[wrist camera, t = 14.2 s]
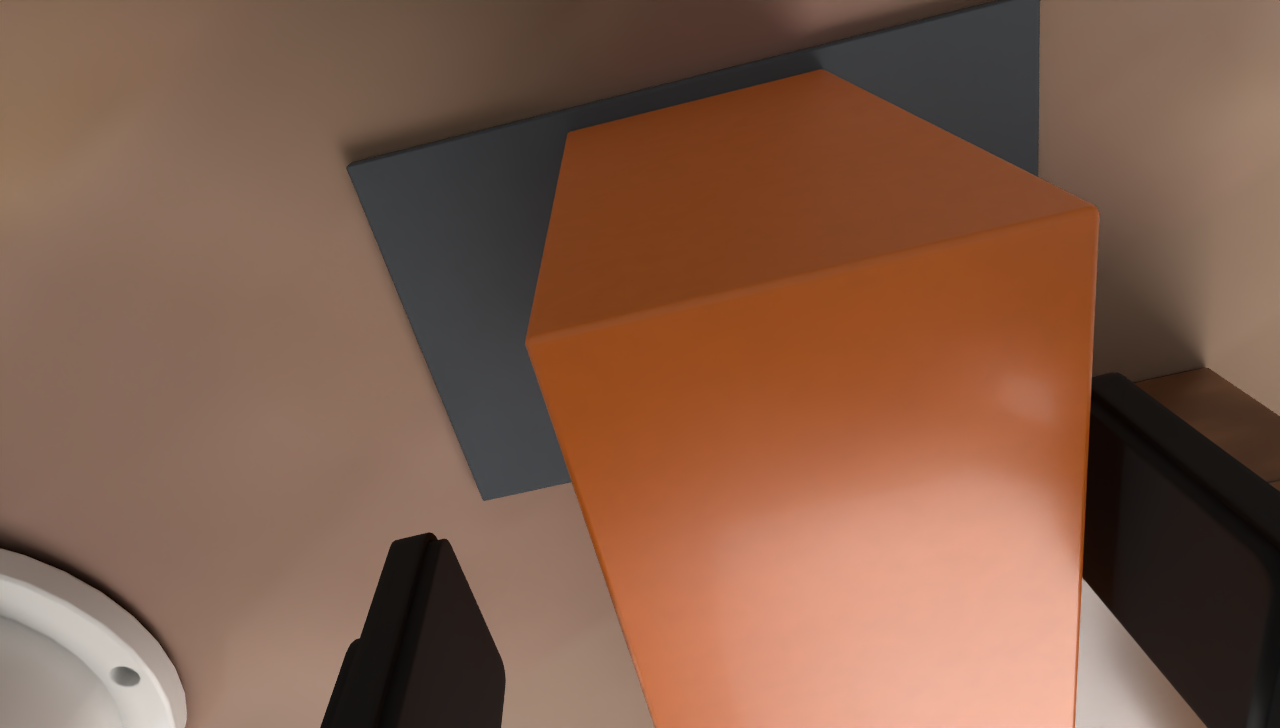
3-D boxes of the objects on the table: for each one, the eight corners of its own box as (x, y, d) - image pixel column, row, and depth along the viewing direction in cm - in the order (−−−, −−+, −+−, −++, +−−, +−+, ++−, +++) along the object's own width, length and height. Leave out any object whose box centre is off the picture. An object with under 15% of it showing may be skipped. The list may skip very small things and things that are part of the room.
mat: (484, 493, 23) (483, 501, 23) (350, 163, 18) (345, 166, 18) (1029, 374, 22) (1037, 381, 21) (1032, -9, 17) (1040, -8, 17)
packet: (652, 448, 22) (690, 838, 12) (566, 131, 18) (521, 340, 8) (862, 402, 22) (1075, 768, 12) (824, 67, 17) (1104, 205, 8)
